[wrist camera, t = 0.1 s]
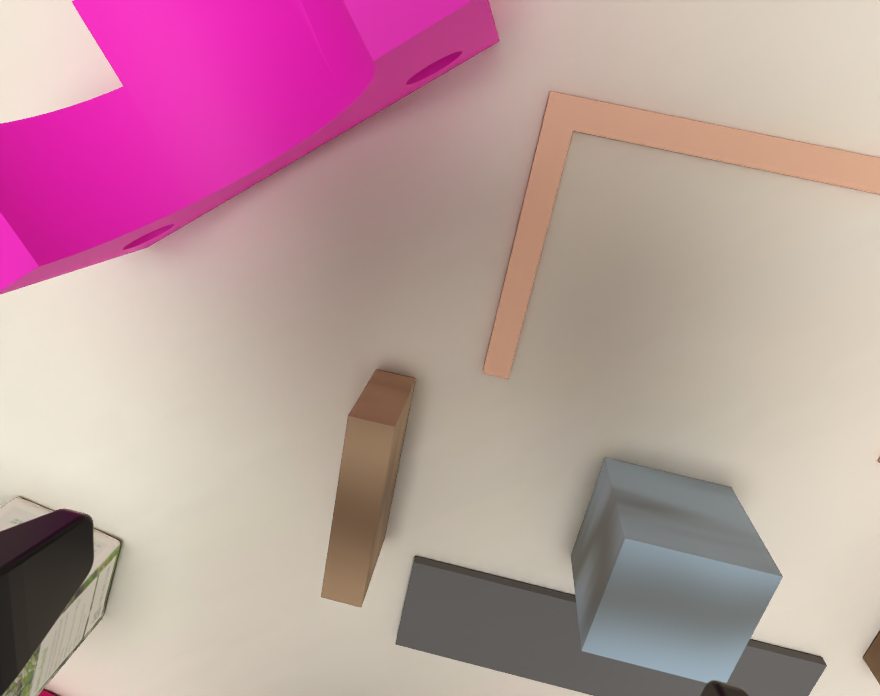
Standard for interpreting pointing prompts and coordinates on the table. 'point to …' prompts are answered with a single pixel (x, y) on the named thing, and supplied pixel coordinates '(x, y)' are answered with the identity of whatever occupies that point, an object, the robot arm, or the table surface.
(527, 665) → the grey flat board
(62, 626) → the syrup box
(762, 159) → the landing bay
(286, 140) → the toy block
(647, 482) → the cube
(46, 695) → the pepper mill
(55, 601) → the robot arm
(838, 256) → the table surface
